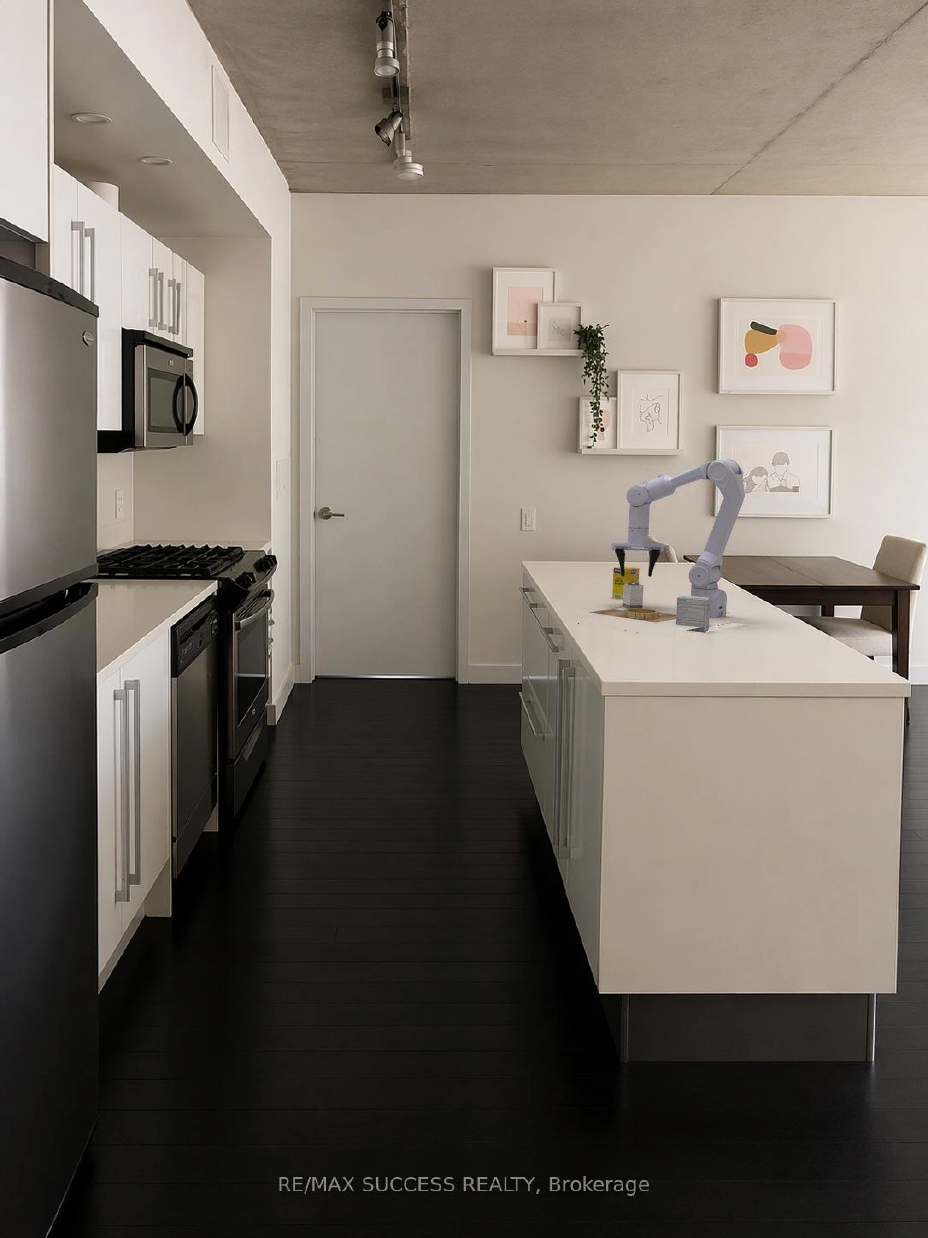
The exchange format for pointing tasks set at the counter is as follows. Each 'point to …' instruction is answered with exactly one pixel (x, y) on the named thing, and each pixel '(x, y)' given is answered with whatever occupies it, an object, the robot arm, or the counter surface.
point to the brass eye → (641, 613)
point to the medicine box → (693, 612)
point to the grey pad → (619, 609)
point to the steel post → (632, 595)
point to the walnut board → (621, 614)
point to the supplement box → (623, 580)
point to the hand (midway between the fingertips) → (636, 575)
